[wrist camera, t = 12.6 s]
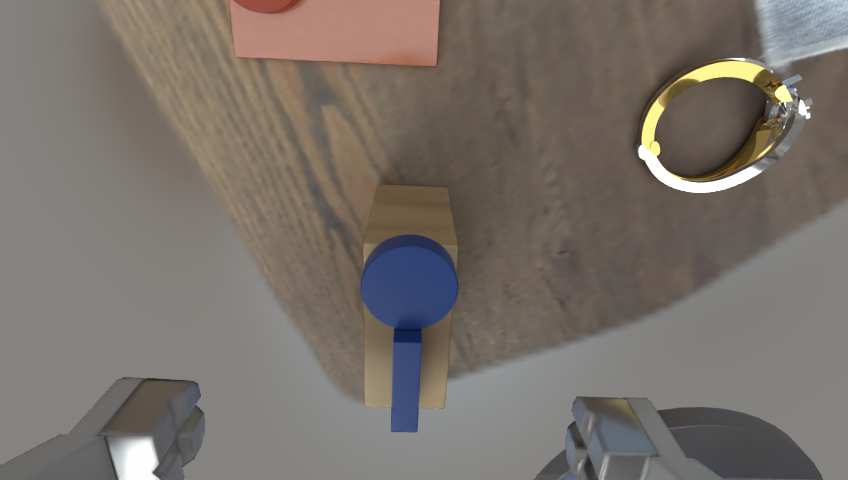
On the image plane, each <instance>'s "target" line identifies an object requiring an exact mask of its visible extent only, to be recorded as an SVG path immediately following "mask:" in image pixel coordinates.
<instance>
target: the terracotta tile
mask: <svg viewBox="0 0 848 480" xmlns="http://www.w3.org/2000/svg"><path fill="white" fill-rule="evenodd" d="M229 7H230V16H231V25H232V34H233V43H234V52H235V57H244V58H265V59H286V60H307V61H328V62H349V63H370V64H391V65H412V66H433V67H436V66H437V54H438V36H439V17H440V0H299V1H298V2H297V3H296V4H295V5H294V6H293V7H292V8H290V9H288V10H286V11H284V12H281V13H275V14H268V13H258V12H254V11H250V10H248V9H246V8H244V7H242V6H240V5H239V4H238V3H236V2H235V1H234V0H229Z"/></svg>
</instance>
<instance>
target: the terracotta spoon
mask: <svg viewBox="0 0 848 480" xmlns="http://www.w3.org/2000/svg"><path fill="white" fill-rule="evenodd" d="M234 1H235V2H236V3H238V4H239V5H240V6H242V7H244V8H246V9H248V10H250V11H254V12H258V13H268V14H275V13H281V12H284V11H286V10H288V9H290V8H292V7H293V6H294V5H295V4H296V3H297V2H298V1H299V0H234Z"/></svg>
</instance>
